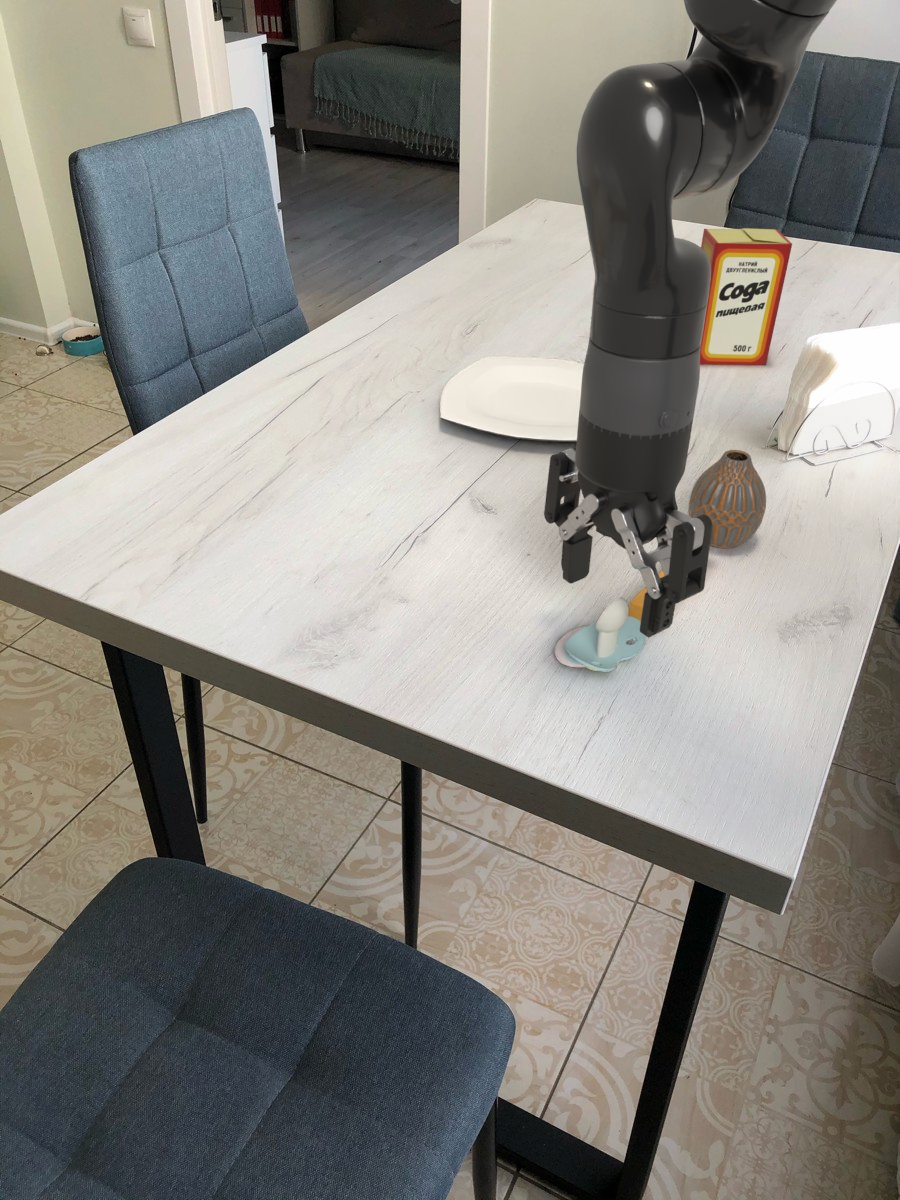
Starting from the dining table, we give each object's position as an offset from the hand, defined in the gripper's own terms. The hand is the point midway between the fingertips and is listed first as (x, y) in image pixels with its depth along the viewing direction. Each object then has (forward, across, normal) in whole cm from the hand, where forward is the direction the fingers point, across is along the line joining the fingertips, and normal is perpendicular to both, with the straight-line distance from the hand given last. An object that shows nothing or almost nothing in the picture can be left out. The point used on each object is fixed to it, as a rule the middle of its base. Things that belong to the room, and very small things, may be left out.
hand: (612, 604), depth 72 cm
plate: (+5, +39, -26) cm, 47 cm away
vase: (+6, +7, -22) cm, 24 cm away
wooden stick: (+6, +4, -11) cm, 13 cm away
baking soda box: (+5, +38, -58) cm, 70 cm away
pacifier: (+6, +1, 0) cm, 6 cm away
